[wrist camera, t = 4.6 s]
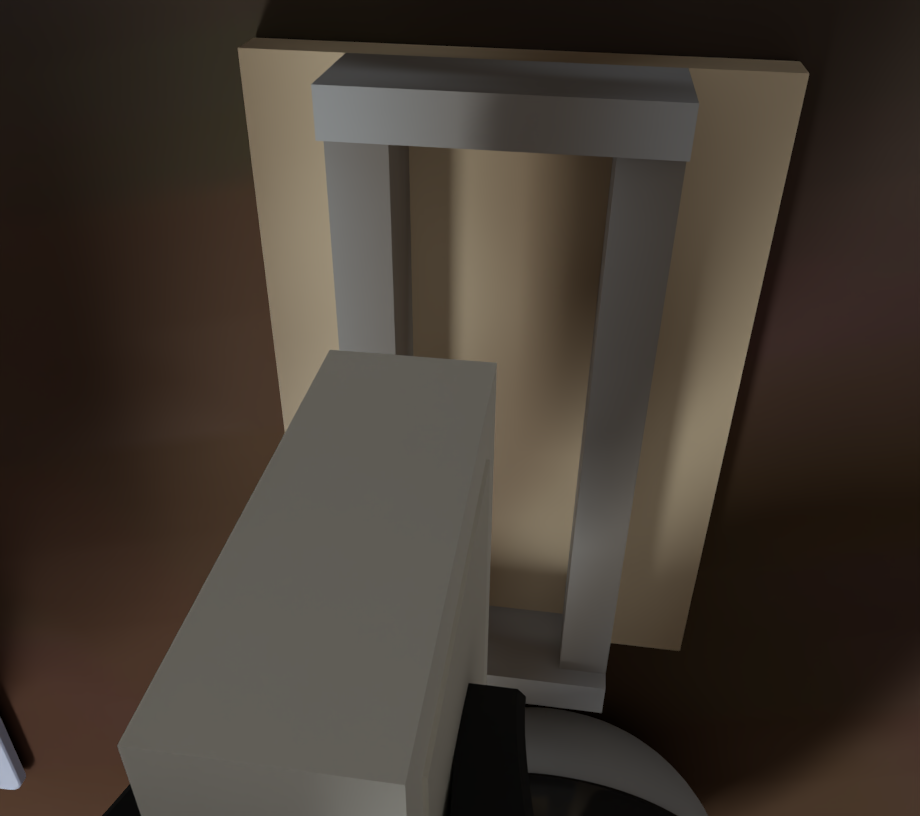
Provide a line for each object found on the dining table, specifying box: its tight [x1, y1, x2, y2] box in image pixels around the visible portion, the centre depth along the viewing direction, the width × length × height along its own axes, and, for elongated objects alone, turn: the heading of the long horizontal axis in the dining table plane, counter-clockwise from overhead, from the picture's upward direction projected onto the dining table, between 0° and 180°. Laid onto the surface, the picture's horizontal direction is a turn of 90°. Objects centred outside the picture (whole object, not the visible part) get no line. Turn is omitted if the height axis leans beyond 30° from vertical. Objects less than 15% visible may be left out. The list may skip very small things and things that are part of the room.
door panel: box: [117, 350, 497, 816], centre depth 11 cm, size 2×8×6 cm, turn 0°
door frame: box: [238, 38, 809, 713], centre depth 17 cm, size 9×13×3 cm
